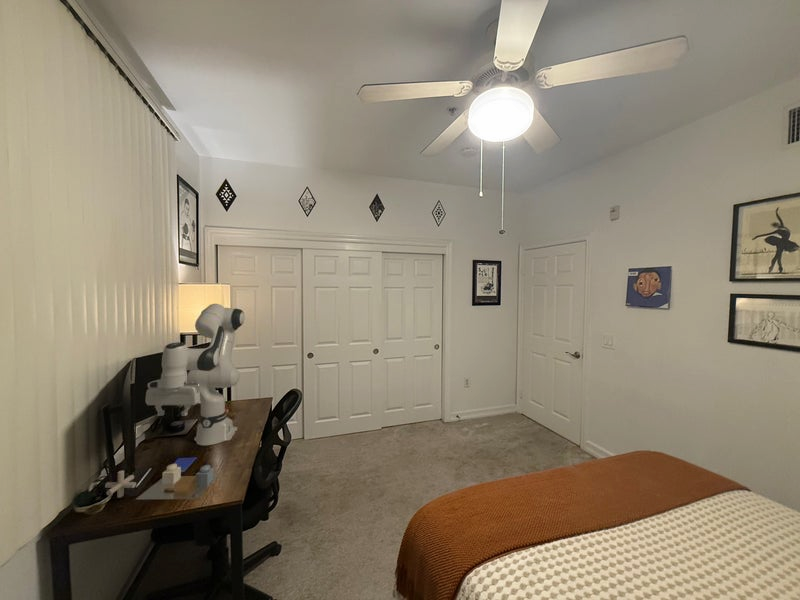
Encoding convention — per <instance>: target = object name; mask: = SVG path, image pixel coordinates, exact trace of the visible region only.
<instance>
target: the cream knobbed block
mask: <svg viewBox="0 0 800 600" xmlns="http://www.w3.org/2000/svg"><path fill="white" fill-rule="evenodd" d="M181 474H182V472H181V467H177V464H173V463H171V464H168V465H167V466H166V469H165V470H164V471H163V472H162V478H161V479H162V484H174V483H175V482H176V481H177V480H178V479H179V478H180V477H181V476H182V475H181Z"/></svg>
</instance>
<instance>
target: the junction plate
mask: <svg viewBox="0 0 800 600" xmlns="http://www.w3.org/2000/svg"><path fill="white" fill-rule="evenodd" d="M218 476H219V475H218ZM218 476H217V475H214V479H213V480H212V481H211V482H210V483H209V484H208V485H197V487H196V488H195V489H194V490H193V491H192V492H191V493H190V494H189V495H174V491H164V489H165V488H174V484H175V483H176V482H178V481H179V480H180V479H181V478H182V477H196V475H191V476H190V475H188V476H187V475H181V477H180V478H179V479H178V480H177V481H176V482H175V483H174V484H162V478H160V479H159V480H157V482H155V483H154V484H153V485H151V486H150V487H149V488H148V489H146V490H145V491H143V492H142V494H140V495H139V496H138V497H137V498H135V500H196V499H197V498H199V496H200V495H201V494H202V493H203V492H204V491H205V490H206V489H207V488H208V487H209V486H210V485H211V484H212V483H213V482H214V481H215V480H216V479H217V478H218Z"/></svg>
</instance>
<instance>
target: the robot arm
mask: <svg viewBox="0 0 800 600" xmlns="http://www.w3.org/2000/svg"><path fill="white" fill-rule="evenodd" d="M244 321H245V312H244V310H242V309H240V308H237V307H235V308H230V307H224V306H223V305H222V304H219V303H212V304H209V305H208V306H207V307H206V308H204V309H203V310H202V311H201V312H200V315H199V316H198V318H197V319H196V321H195V324H194V327H195V330H196V332H197V333H198V334H199V335H201V336H202V337H204V338H208V339H210V340H211V341H210V343H209V346H208V347H206V348H193V347H192V348H190V347H188V345H187V344H186V343H185V342H182V341H181V342H178V341H177V342H171V343H168V344H166V345H165V346H164V348H163V352H162V355H161V368H162V372H161V375H160V378H158V379H156V380H152V381H150V382H148V383H147V388H148V389H147V390H146V392H145V403H146V405H147V406H154V409H155V411H156V412H157V417H158V416H159V417H161V416H162V417H163V416H164V415H165V410H164V409H163V408H162V407H163V406H183V408H184V410H183V411H181V412H180V414H181V417H186V416H188V411H189V410H190V408H191V406H196V405H197V404H199V403H200V415H199V423H198V424H197V428H196V436H195V437H194V438H193V440H194V441H195V442H196V444H197V445H199V446H210V445H211V446H212V445H217V444H220V443H223V442H227V441H230V440H232V438H233V436H234V435H235V433H236V432H237V431H238V427H237V426H234V424H233V423H234V422H233V420H232V419H231V418H229V417H228V416H227V414H228V413H229V410H230V409H226V408H225V407H226V398H225V396H224V395H223V394H222V393H220V392H218V391H217V390H216V389H217V388H218V389H225V388H231V387H235V386H236V385H237V384H238V383H239V381H240V377H241V375H240V374H241V373H240V371H239V370H238V368H237V367H235V366H234V364H233V361H232V353H233V347H234V343H235V338H236V331H237V330H238V329H239V328H240V327H241V326H242V325H243V324H244ZM188 371H189V372H188ZM235 431H236V432H235Z"/></svg>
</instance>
